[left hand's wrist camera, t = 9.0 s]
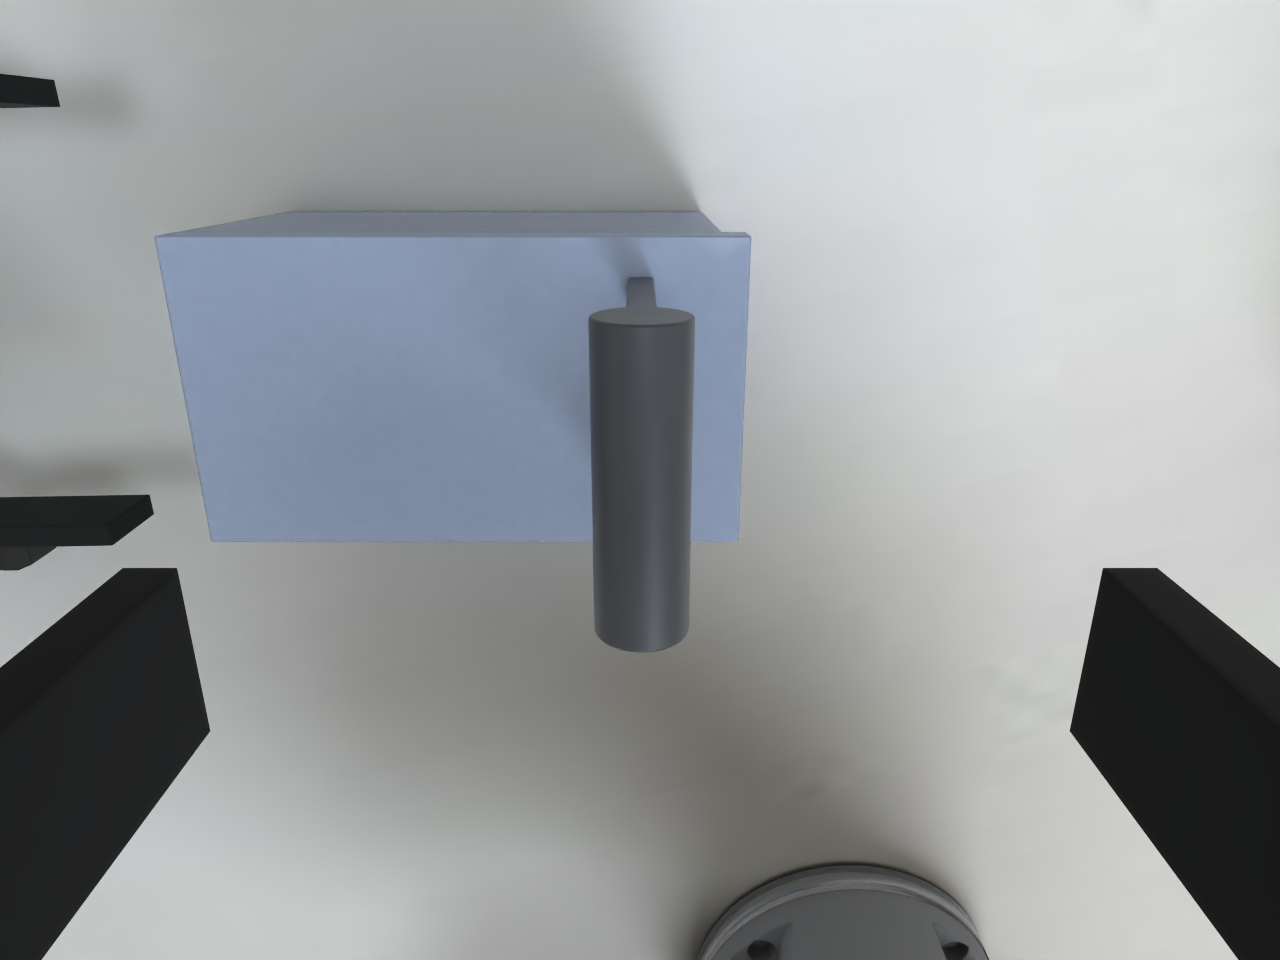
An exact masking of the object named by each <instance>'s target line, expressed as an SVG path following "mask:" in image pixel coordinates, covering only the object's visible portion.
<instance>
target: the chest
mask: <svg viewBox="0 0 1280 960" xmlns="http://www.w3.org/2000/svg"><path fill="white" fill-rule="evenodd" d="M181 232H721V231H720V230H719V229H718V228H717V227H716V226H715V225H714V224H713V223H712V222H711V221H710V220H709V219H708V218H707V217H706V216H705V215H704V214H703V213H702V212H700V211H291V212H287V213H280V214H275V215H269V216H264V217H258V218H253V219H247V220H242V221H236V222H231V223H225V224H220V225H214V226H209V227H203V228H198V229H192V230H187V231H181Z"/></svg>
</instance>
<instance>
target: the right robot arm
mask: <svg viewBox="0 0 1280 960" xmlns="http://www.w3.org/2000/svg"><path fill="white" fill-rule="evenodd" d="M24 107H60V104H59V99H58V95H57V91H56V86H55V82H54V80H49V79H40V78H32V77H23V76H15V75H6V74H0V108H24ZM153 514H154V512H153V508H152V504H151V499H150V495H108V496H54V497H0V570H20V569H22V568H25V567H27V566H29V565H32V564H33V563H34V562H36V561H37V560H39V559H40V558H42V557H43V556H45V555H46V554H48V553H49V552H51V551H52V550H53V549H55V548H56V546H104V545H113V544H115V543H116V542H117V541H119V540H120V539H121V538H123V537H124V536H125V535H127V534H128V533H129V532H131V531H132V530H133V529H135V528H136V527H137V526H139V525H140V524H141V523H143V522H144V521H145V520H147V519H148V518H149V517H151V516H152V515H153Z"/></svg>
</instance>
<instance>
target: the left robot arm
mask: <svg viewBox="0 0 1280 960" xmlns="http://www.w3.org/2000/svg"><path fill="white" fill-rule="evenodd" d="M209 732H210V728H209V723H208V718H207V713H206V708H205V703H204V698H203V693H202V688H201V684H200V679H199V674H198V669H197V664H196V659H195V654H194V649H193V644H192V639H191V635H190V630H189V625H188V620H187V615H186V610H185V605H184V600H183V595H182V591H181V586H180V581H179V576H178V571H177V568H122V569H121V570H120V571H119V572H118V573H116V574H115V575H114V576H113V577H111V578H110V579H109V580H108V581H106V582H105V583H104V584H103V585H102V586H100V587H99V588H98V589H97V590H95V591H94V592H93V593H92V594H90V595H89V596H88V597H87V598H86V599H84V600H83V601H82V602H81V603H79V604H78V605H77V606H76V607H74V608H73V609H72V610H71V611H70V612H68V613H67V614H66V615H65V616H63V617H62V618H61V619H60V620H58V621H57V622H56V623H55V624H54V625H52V626H51V627H50V628H49V629H47V630H46V631H45V632H44V633H42V634H41V635H40V636H39V637H38V638H36V639H35V640H34V641H33V642H31V643H30V644H29V645H28V646H26V647H25V648H24V649H23V650H22V651H20V652H19V653H18V654H17V655H15V656H14V657H13V658H12V659H10V660H9V661H8V662H7V663H6V664H4V665H3V666H2V667H1V668H0V960H42V958H43V957H44V956H45V954H46V953H47V952H48V950H49V949H50V947H51V946H52V945H53V943H54V942H55V941H56V939H57V938H58V937H59V935H60V934H61V933H62V931H63V930H64V928H65V927H66V926H67V924H68V923H69V922H70V920H71V919H72V918H73V916H74V915H75V914H76V912H77V911H78V909H79V908H80V907H81V905H82V904H83V903H84V901H85V900H86V899H87V897H88V896H89V895H90V893H91V892H92V890H93V889H94V888H95V886H96V885H97V884H98V882H99V881H100V880H101V878H102V877H103V876H104V874H105V873H106V871H107V870H108V869H109V867H110V866H111V865H112V863H113V862H114V861H115V859H116V858H117V857H118V855H119V854H120V853H121V851H122V850H123V848H124V847H125V846H126V844H127V843H128V842H129V840H130V839H131V838H132V836H133V835H134V834H135V832H136V831H137V829H138V828H139V827H140V825H141V824H142V823H143V821H144V820H145V819H146V817H147V816H148V815H149V813H150V812H151V810H152V809H153V808H154V806H155V805H156V804H157V802H158V801H159V800H160V798H161V797H162V796H163V794H164V793H165V791H166V790H167V789H168V787H169V786H170V785H171V783H172V782H173V781H174V779H175V778H176V777H177V775H178V774H179V772H180V771H181V770H182V768H183V767H184V766H185V764H186V763H187V762H188V760H189V759H190V758H191V756H192V755H193V753H194V752H195V751H196V749H197V748H198V747H199V745H200V744H201V743H202V741H203V740H204V739H205V737H206V736H207V735H208V733H209ZM1070 732H1071V733H1072V735H1073V736H1074V737H1075V739H1076V740H1077V741H1078V743H1079V744H1080V745H1081V747H1082V748H1083V749H1084V751H1085V752H1086V753H1087V755H1088V756H1089V758H1090V759H1091V760H1092V762H1093V763H1094V764H1095V766H1096V767H1097V768H1098V770H1099V771H1100V772H1101V774H1102V775H1103V777H1104V778H1105V779H1106V781H1107V782H1108V783H1109V785H1110V786H1111V787H1112V789H1113V790H1114V791H1115V793H1116V794H1117V796H1118V797H1119V798H1120V800H1121V801H1122V802H1123V804H1124V805H1125V806H1126V808H1127V809H1128V810H1129V812H1130V813H1131V815H1132V816H1133V817H1134V819H1135V820H1136V821H1137V823H1138V824H1139V825H1140V827H1141V828H1142V829H1143V831H1144V832H1145V834H1146V835H1147V836H1148V838H1149V839H1150V840H1151V842H1152V843H1153V844H1154V846H1155V847H1156V848H1157V850H1158V851H1159V853H1160V854H1161V855H1162V857H1163V858H1164V859H1165V861H1166V862H1167V863H1168V865H1169V866H1170V867H1171V869H1172V870H1173V871H1174V873H1175V874H1176V876H1177V877H1178V878H1179V880H1180V881H1181V882H1182V884H1183V885H1184V886H1185V888H1186V889H1187V890H1188V892H1189V893H1190V895H1191V896H1192V897H1193V899H1194V900H1195V901H1196V903H1197V904H1198V905H1199V907H1200V908H1201V909H1202V911H1203V912H1204V914H1205V915H1206V916H1207V918H1208V919H1209V920H1210V922H1211V923H1212V924H1213V926H1214V927H1215V928H1216V930H1217V931H1218V933H1219V934H1220V935H1221V937H1222V938H1223V939H1224V941H1225V942H1226V943H1227V945H1228V946H1229V947H1230V949H1231V950H1232V952H1233V953H1234V954H1235V956H1236V957H1237V958H1238V960H1280V668H1279V667H1278V666H1277V665H1276V664H1274V663H1273V662H1272V661H1271V660H1270V659H1268V658H1267V657H1266V656H1265V655H1263V654H1262V653H1261V652H1260V651H1258V650H1257V649H1256V648H1255V647H1254V646H1252V645H1251V644H1250V643H1249V642H1247V641H1246V640H1245V639H1244V638H1242V637H1241V636H1240V635H1239V634H1238V633H1236V632H1235V631H1234V630H1233V629H1231V628H1230V627H1229V626H1228V625H1226V624H1225V623H1224V622H1223V621H1222V620H1220V619H1219V618H1218V617H1217V616H1215V615H1214V614H1213V613H1212V612H1210V611H1209V610H1208V609H1207V608H1206V607H1204V606H1203V605H1202V604H1201V603H1199V602H1198V601H1197V600H1196V599H1194V598H1193V597H1192V596H1191V595H1190V594H1188V593H1187V592H1186V591H1185V590H1183V589H1182V588H1181V587H1180V586H1178V585H1177V584H1176V583H1175V582H1174V581H1172V580H1171V579H1170V578H1169V577H1167V576H1166V575H1165V574H1164V573H1162V572H1161V571H1160V570H1159V569H1158V568H1103V571H1102V576H1101V581H1100V586H1099V591H1098V595H1097V600H1096V605H1095V610H1094V615H1093V620H1092V625H1091V630H1090V635H1089V639H1088V644H1087V649H1086V654H1085V659H1084V664H1083V669H1082V674H1081V679H1080V684H1079V688H1078V693H1077V698H1076V703H1075V708H1074V713H1073V718H1072V723H1071V728H1070ZM697 960H989V958H988V956H987V954H986V951H985V949H984V947H983V944H982V942H981V940H980V937H979V935H978V933H977V930H976V928H975V926H974V925H973V923H972V921H971V920H970V918H969V917H968V915H967V914H966V913H965V911H964V910H963V909H962V908H961V907H960V906H959V905H958V904H957V903H956V902H955V901H954V900H953V899H952V898H950V897H949V896H948V895H947V894H945V893H944V892H943V891H941V890H939V889H938V888H936V887H935V886H933V885H931V884H929V883H927V882H925V881H923V880H921V879H919V878H916V877H914V876H911V875H909V874H905V873H902V872H899V871H895V870H890V869H885V868H880V867H872V866H859V865H842V866H829V867H821V868H815V869H810V870H805V871H802V872H798V873H794V874H791V875H788V876H785V877H782V878H779V879H777V880H775V881H773V882H770V883H768V884H766V885H764V886H762V887H760V888H758V889H757V890H755V891H753V892H751V893H750V894H748V895H747V896H745V897H744V898H742V899H741V900H740V901H738V902H737V903H736V904H735V905H733V906H732V907H731V908H730V909H729V910H728V911H727V912H726V913H725V914H724V915H723V916H722V917H721V918H720V919H719V920H718V922H717V923H716V924H715V925H714V927H713V928H712V929H711V931H710V932H709V934H708V935H707V937H706V939H705V941H704V943H703V945H702V947H701V950H700V953H699V955H698V959H697Z"/></svg>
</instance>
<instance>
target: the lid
mask: <svg viewBox="0 0 1280 960" xmlns="http://www.w3.org/2000/svg"><path fill="white" fill-rule="evenodd" d="M155 242H156V247H157V253H158V258H159V263H160V269H161V274H162V279H163V285H164V290H165V295H166V301H167V306H168V311H169V317H170V322H171V327H172V333H173V338H174V344H175V349H176V354H177V360H178V365H179V370H180V376H181V381H182V386H183V392H184V397H185V402H186V408H187V413H188V418H189V424H190V429H191V435H192V440H193V445H194V451H195V456H196V461H197V467H198V472H199V477H200V483H201V488H202V493H203V499H204V504H205V510H206V515H207V520H208V526H209V531H210V536H211V541H212V542H593V575H594V624H595V632H596V634H597V636H598V637H599V638H600V639H601V640H602V641H603V642H604V643H606V644H607V645H609V646H611V647H614V648H617V649H620V650H624V651H630V652H653V651H659V650H663V649H667V648H669V647H672V646H674V645H676V644H677V643H679V642H680V641H681V640H683V638H684V637H685V636H686V634H687V632H688V626H689V581H690V541H738V533H739V510H740V486H741V463H742V440H743V417H744V393H745V370H746V347H747V324H748V300H749V277H750V254H751V236H749V235H748V234H747V233H745V232H175V233H169V234H164V235H158V236H155Z"/></svg>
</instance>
